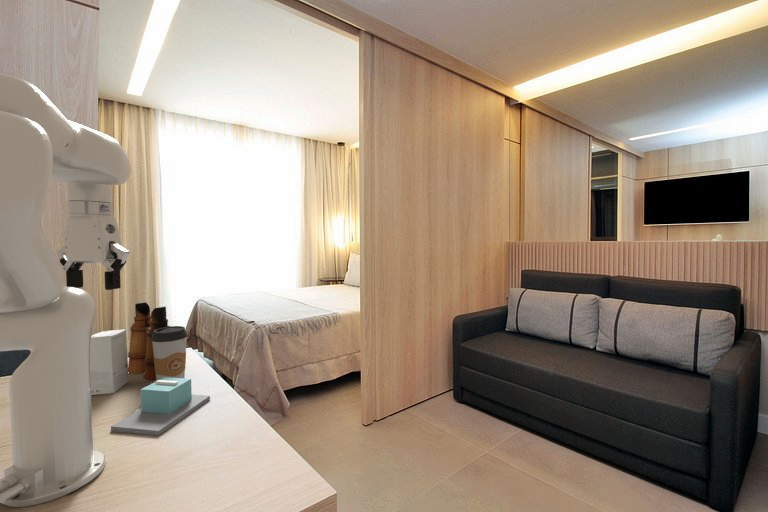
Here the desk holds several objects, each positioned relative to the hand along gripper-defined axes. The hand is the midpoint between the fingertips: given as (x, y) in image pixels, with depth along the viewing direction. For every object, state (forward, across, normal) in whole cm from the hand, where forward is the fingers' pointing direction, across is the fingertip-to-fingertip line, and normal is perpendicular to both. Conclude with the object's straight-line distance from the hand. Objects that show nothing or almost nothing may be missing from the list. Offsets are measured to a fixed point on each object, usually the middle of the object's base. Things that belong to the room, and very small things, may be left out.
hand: (93, 288), depth 78 cm
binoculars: (+29, +8, -24) cm, 38 cm away
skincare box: (+28, +10, -12) cm, 32 cm away
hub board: (+28, -15, -2) cm, 32 cm away
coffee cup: (+28, -4, -17) cm, 33 cm away
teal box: (+27, -14, -4) cm, 31 cm away
